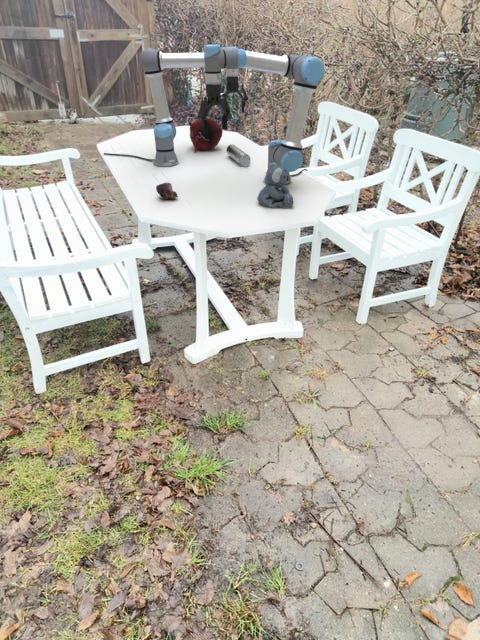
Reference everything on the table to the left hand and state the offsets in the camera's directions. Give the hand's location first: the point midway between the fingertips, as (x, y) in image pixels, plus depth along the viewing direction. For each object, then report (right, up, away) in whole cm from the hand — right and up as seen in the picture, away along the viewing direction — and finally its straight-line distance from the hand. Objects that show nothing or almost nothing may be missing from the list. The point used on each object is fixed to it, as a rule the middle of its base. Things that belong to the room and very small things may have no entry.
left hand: (232, 113), depth 290 cm
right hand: (-8, -41, -68) cm, 80 cm away
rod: (+3, -28, +8) cm, 30 cm away
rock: (-35, -69, -50) cm, 92 cm away
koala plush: (+22, -74, -58) cm, 96 cm away
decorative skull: (-20, -9, +37) cm, 43 cm away
